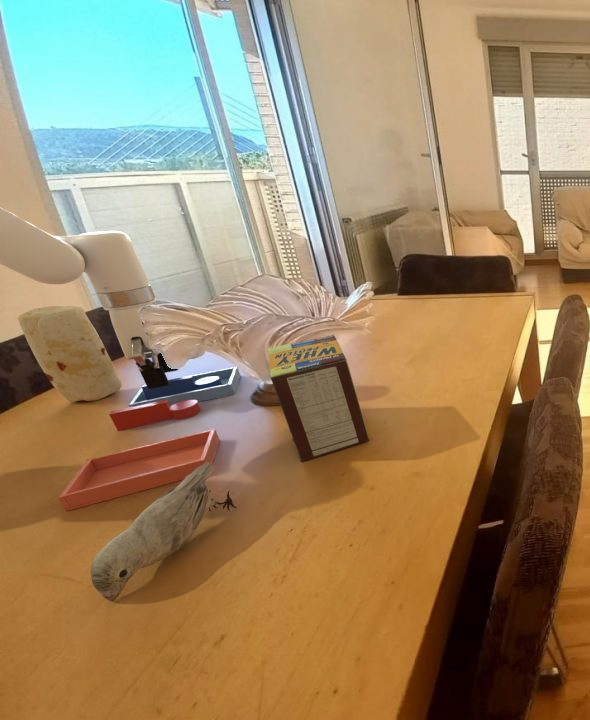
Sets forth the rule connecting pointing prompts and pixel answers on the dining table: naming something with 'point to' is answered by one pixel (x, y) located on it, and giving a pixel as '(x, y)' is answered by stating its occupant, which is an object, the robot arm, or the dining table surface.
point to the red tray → (139, 469)
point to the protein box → (317, 396)
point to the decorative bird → (154, 533)
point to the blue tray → (228, 387)
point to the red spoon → (153, 413)
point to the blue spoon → (181, 386)
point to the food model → (70, 352)
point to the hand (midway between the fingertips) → (164, 378)
